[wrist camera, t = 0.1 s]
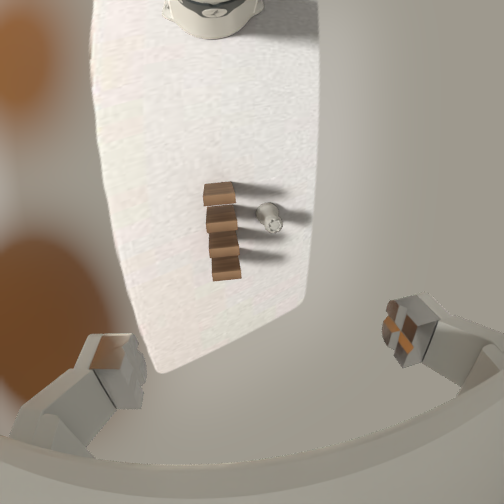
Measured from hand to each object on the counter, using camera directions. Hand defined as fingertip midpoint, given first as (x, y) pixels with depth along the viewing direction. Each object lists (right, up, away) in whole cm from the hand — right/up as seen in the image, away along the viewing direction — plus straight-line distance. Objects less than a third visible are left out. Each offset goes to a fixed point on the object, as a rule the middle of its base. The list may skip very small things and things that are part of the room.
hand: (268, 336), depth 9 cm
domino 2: (-7, +11, +47) cm, 49 cm away
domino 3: (-6, +7, +49) cm, 50 cm away
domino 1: (-7, +15, +45) cm, 48 cm away
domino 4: (-6, +3, +51) cm, 51 cm away
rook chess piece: (+2, +10, +49) cm, 50 cm away
